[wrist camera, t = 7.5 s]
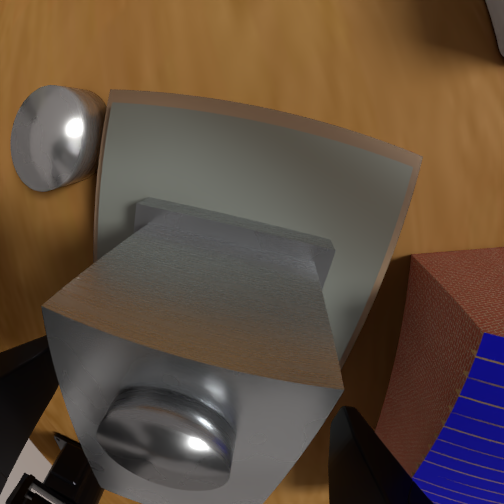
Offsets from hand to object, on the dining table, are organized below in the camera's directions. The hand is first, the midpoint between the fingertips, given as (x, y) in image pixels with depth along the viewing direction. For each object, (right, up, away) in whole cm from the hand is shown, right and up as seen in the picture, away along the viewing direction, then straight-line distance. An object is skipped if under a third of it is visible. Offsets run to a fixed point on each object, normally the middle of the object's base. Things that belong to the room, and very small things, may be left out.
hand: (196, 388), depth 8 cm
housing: (0, +1, +3) cm, 3 cm away
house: (+15, -5, +7) cm, 17 cm away
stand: (+1, +2, +5) cm, 6 cm away
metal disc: (-6, +9, +3) cm, 12 cm away
